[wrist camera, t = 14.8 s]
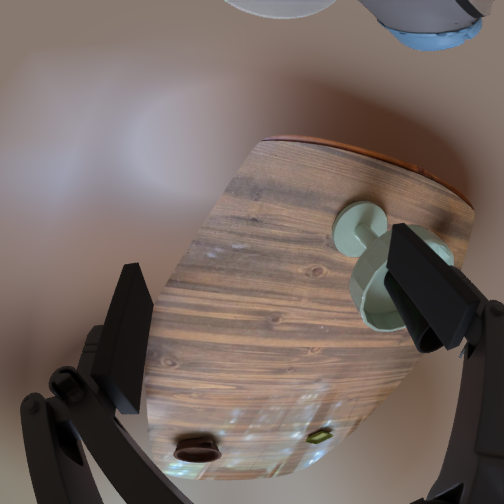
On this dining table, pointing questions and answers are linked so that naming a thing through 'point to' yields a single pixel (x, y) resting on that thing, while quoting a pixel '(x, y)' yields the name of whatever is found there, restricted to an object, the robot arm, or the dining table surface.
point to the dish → (197, 451)
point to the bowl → (375, 260)
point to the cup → (412, 317)
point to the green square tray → (318, 437)
